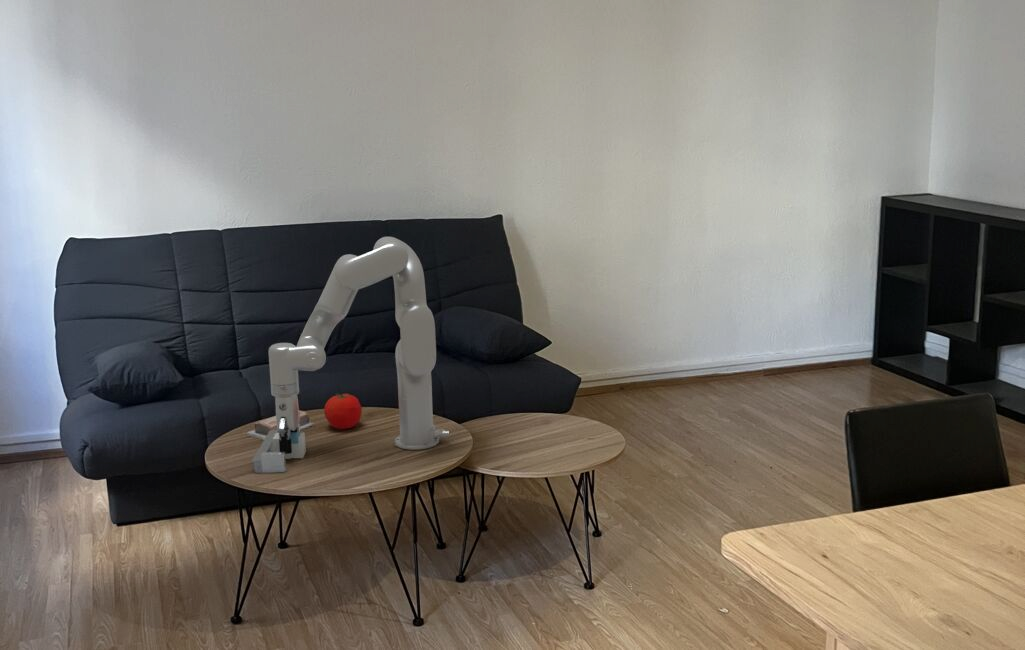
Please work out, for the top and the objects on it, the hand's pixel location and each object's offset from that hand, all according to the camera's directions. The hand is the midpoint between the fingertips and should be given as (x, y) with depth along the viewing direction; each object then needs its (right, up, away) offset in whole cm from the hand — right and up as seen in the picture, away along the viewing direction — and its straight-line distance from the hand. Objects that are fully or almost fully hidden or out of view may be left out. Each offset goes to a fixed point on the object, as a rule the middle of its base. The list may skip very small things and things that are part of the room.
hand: (289, 447), depth 301 cm
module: (0, -3, +1) cm, 3 cm away
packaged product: (-7, +2, +23) cm, 24 cm away
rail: (-3, -2, 0) cm, 4 cm away
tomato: (+11, +3, +25) cm, 28 cm away
